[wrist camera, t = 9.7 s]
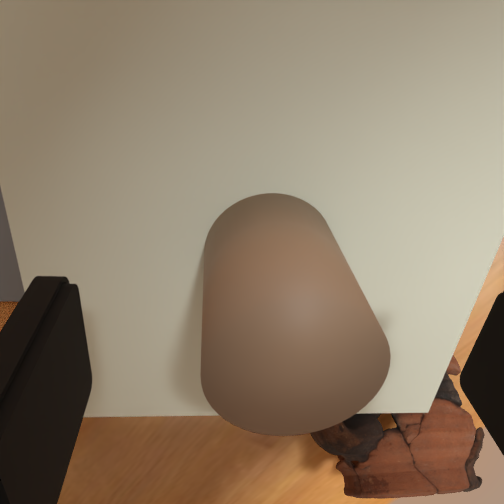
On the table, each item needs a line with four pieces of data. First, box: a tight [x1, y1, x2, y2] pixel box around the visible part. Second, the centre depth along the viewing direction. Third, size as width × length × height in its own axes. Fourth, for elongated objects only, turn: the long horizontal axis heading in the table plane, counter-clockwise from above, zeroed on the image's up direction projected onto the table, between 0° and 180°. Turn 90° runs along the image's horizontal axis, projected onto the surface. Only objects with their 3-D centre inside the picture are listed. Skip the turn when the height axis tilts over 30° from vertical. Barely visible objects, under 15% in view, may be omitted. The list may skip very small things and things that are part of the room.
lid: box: [0, 0, 504, 436], centre depth 12 cm, size 15×15×6 cm
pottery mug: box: [310, 355, 484, 498], centre depth 25 cm, size 12×10×8 cm
